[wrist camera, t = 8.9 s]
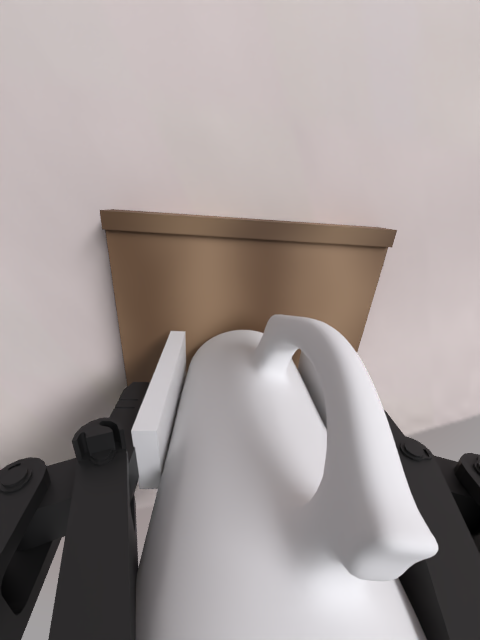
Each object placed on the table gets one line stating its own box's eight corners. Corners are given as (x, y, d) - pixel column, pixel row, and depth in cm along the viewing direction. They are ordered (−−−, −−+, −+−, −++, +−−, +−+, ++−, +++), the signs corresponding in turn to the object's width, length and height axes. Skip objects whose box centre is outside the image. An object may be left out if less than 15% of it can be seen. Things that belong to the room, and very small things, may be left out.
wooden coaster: (139, 419, 19) (132, 436, 17) (112, 209, 13) (99, 210, 12) (327, 420, 20) (334, 436, 18) (380, 227, 14) (396, 230, 13)
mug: (273, 426, 17) (360, 812, 6) (173, 407, 16) (69, 840, 5) (341, 286, 13) (854, 659, 3) (215, 248, 12) (160, 637, 1)
